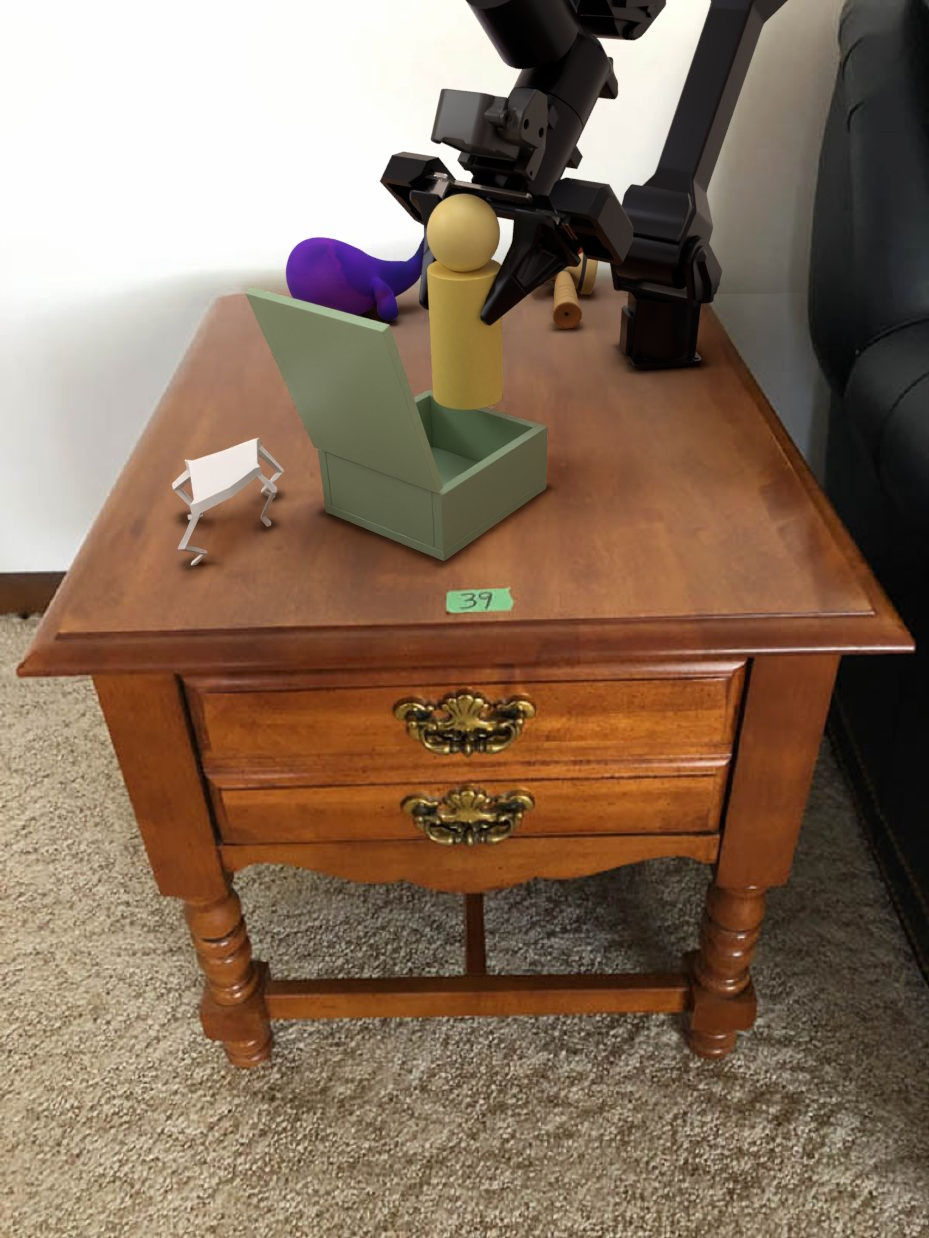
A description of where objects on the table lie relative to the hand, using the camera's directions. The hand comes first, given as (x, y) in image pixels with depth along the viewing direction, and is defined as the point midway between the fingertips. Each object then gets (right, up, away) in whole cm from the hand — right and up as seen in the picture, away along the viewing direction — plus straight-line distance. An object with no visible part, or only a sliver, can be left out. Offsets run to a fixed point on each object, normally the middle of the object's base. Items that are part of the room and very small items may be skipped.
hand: (453, 314), depth 72 cm
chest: (-1, -12, +6) cm, 14 cm away
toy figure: (+1, -5, +5) cm, 7 cm away
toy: (-10, +11, +39) cm, 42 cm away
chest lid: (-7, -7, -6) cm, 11 cm away
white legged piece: (-17, -15, +4) cm, 23 cm away
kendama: (+12, +14, +41) cm, 44 cm away
